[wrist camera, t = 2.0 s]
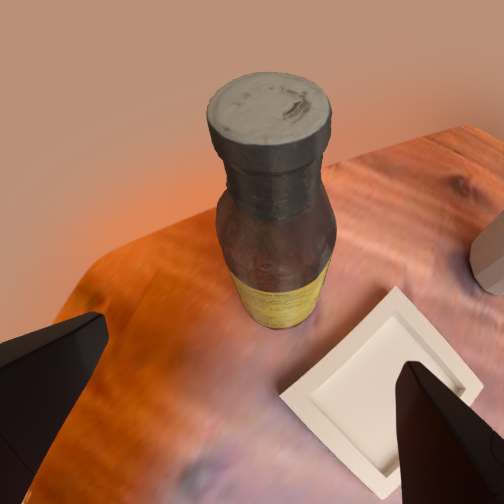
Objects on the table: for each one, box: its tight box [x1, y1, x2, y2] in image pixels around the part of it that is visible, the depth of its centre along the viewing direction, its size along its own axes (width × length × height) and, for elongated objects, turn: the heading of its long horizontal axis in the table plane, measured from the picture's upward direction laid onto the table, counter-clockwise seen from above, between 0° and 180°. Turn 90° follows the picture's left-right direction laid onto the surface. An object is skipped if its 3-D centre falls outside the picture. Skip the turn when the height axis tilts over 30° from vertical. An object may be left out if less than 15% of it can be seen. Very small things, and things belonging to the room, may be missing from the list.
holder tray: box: [279, 286, 484, 500], centre depth 22 cm, size 13×13×2 cm
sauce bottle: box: [206, 72, 337, 330], centre depth 18 cm, size 6×6×20 cm
